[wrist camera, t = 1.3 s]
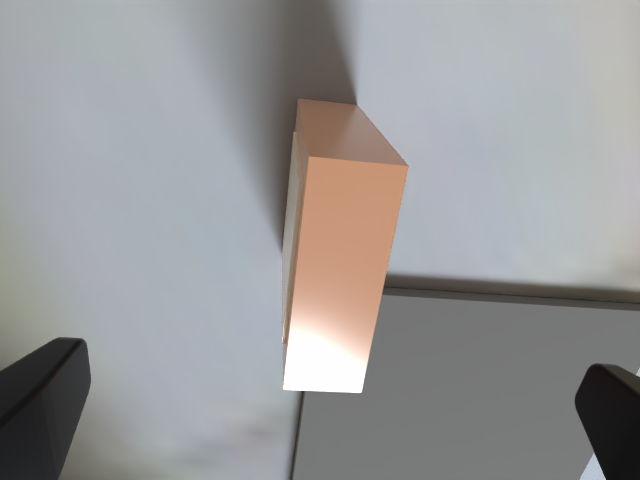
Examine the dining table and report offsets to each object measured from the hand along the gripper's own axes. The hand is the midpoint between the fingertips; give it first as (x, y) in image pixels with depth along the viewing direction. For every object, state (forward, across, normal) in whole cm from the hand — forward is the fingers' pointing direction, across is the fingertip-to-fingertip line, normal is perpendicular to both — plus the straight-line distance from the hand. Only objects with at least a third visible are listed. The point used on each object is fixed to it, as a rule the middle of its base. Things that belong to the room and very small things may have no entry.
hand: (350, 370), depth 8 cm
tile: (+10, 0, 0) cm, 10 cm away
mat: (+9, -8, +12) cm, 17 cm away
